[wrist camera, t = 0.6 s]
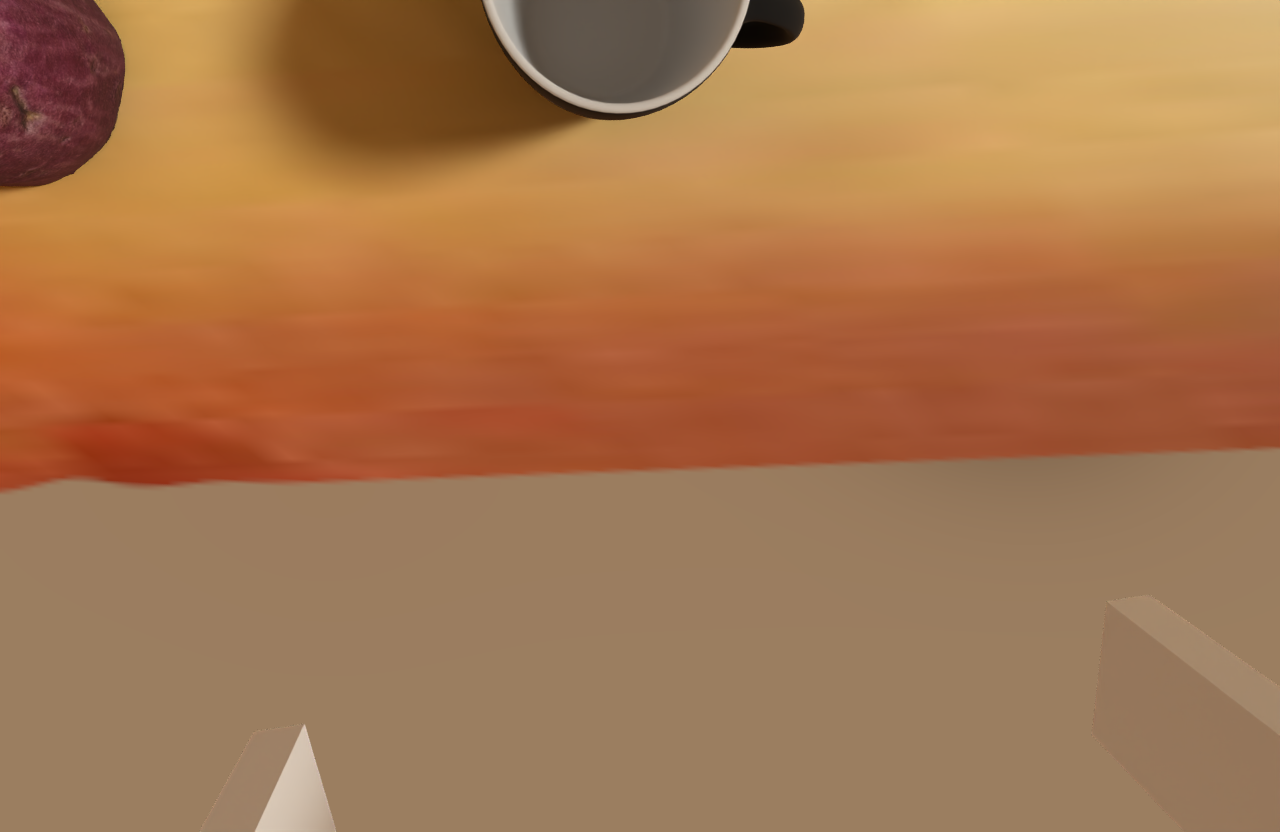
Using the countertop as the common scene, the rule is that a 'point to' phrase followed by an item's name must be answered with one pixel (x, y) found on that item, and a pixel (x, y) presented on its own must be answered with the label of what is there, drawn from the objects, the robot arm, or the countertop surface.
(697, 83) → the mug
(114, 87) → the vegetable
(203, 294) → the countertop surface
